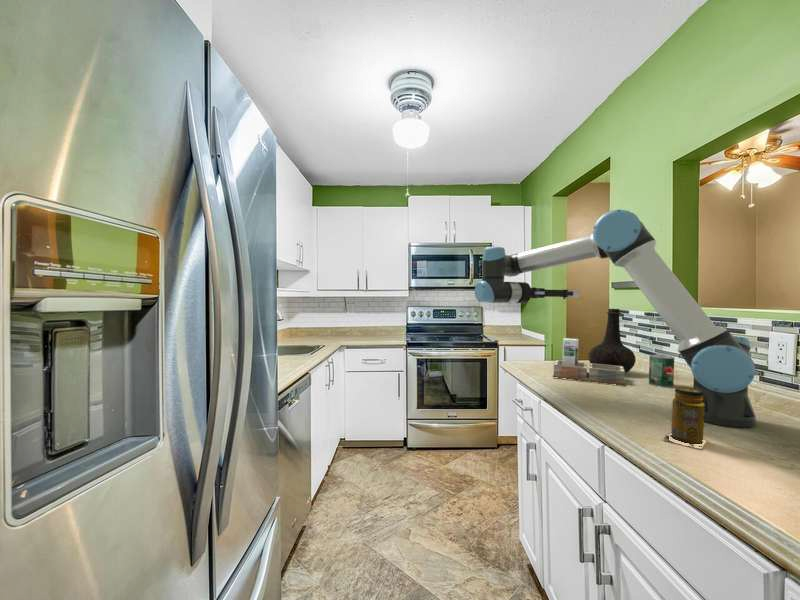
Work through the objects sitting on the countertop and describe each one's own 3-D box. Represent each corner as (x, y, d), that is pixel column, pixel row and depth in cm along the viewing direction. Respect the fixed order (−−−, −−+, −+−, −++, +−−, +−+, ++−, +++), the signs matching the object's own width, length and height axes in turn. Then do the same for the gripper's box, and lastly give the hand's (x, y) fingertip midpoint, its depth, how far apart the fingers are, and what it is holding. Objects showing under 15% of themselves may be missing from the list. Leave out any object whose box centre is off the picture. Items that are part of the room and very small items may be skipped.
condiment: (708, 441, 90) (709, 390, 90) (701, 450, 84) (703, 396, 84) (670, 432, 95) (672, 384, 95) (662, 441, 89) (664, 389, 89)
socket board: (624, 386, 143) (625, 372, 143) (552, 378, 154) (553, 365, 154) (622, 378, 156) (622, 366, 156) (555, 371, 167) (556, 360, 167)
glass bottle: (583, 372, 166) (585, 308, 166) (594, 367, 180) (595, 307, 179) (630, 379, 155) (633, 310, 154) (638, 372, 169) (640, 309, 168)
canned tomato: (674, 388, 141) (675, 358, 140) (648, 385, 145) (649, 356, 144) (672, 384, 147) (673, 355, 147) (648, 381, 151) (649, 353, 151)
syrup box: (561, 373, 158) (563, 338, 158) (563, 371, 163) (564, 337, 163) (577, 375, 155) (578, 339, 155) (578, 372, 161) (579, 338, 160)
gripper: (496, 301, 150) (542, 302, 156) (539, 304, 126) (590, 304, 133) (497, 282, 150) (542, 284, 156) (539, 281, 126) (590, 283, 133)
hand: (564, 293), depth 144 cm, fingers open, 13 cm apart
